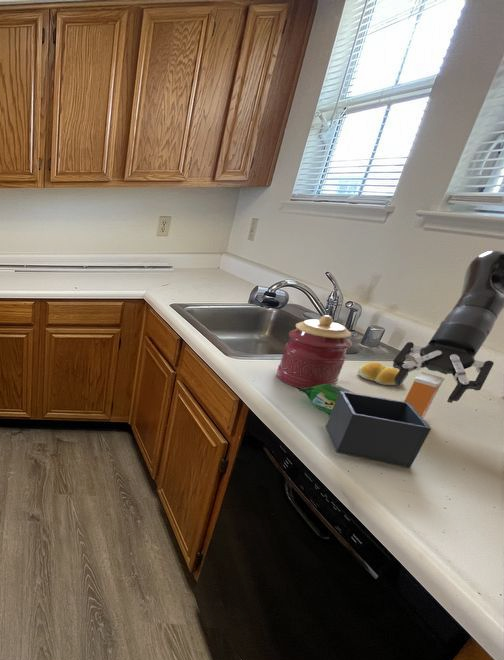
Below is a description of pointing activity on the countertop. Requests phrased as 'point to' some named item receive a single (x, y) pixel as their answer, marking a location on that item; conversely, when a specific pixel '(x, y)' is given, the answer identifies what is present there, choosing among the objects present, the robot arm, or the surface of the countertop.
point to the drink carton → (423, 392)
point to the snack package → (324, 395)
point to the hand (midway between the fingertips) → (422, 392)
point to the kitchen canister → (314, 353)
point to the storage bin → (376, 428)
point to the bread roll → (378, 373)
